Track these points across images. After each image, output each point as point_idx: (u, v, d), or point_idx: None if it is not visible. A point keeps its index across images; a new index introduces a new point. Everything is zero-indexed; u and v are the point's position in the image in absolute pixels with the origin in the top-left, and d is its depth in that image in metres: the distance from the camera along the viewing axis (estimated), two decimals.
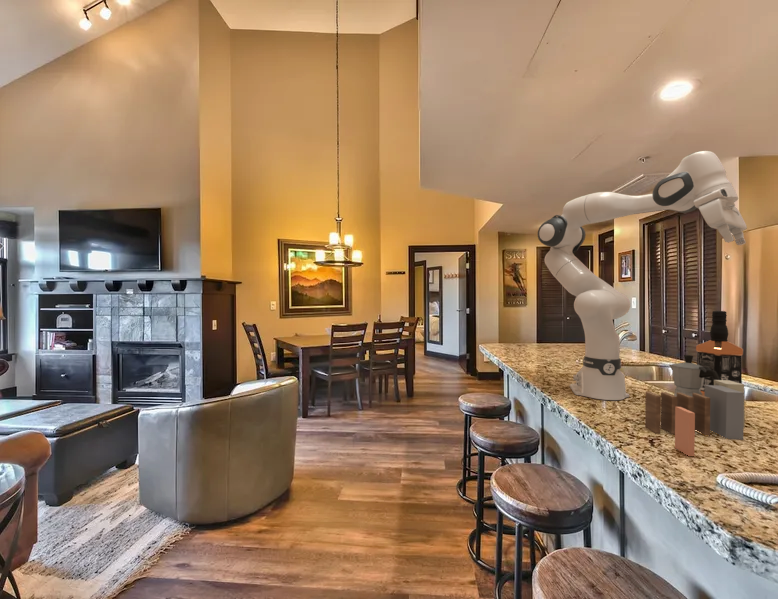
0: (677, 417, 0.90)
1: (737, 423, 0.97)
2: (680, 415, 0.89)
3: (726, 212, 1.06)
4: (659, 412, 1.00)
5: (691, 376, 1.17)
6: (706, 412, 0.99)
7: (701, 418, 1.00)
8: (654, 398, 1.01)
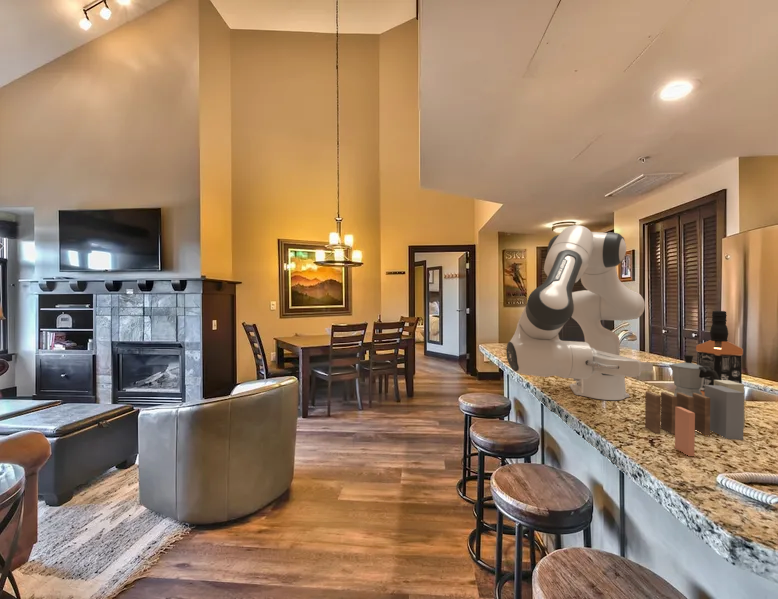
0: (677, 417, 0.90)
1: (737, 423, 0.97)
2: (680, 415, 0.89)
3: None
4: (659, 412, 1.00)
5: (691, 376, 1.17)
6: (706, 412, 0.99)
7: (701, 418, 1.00)
8: (654, 398, 1.01)
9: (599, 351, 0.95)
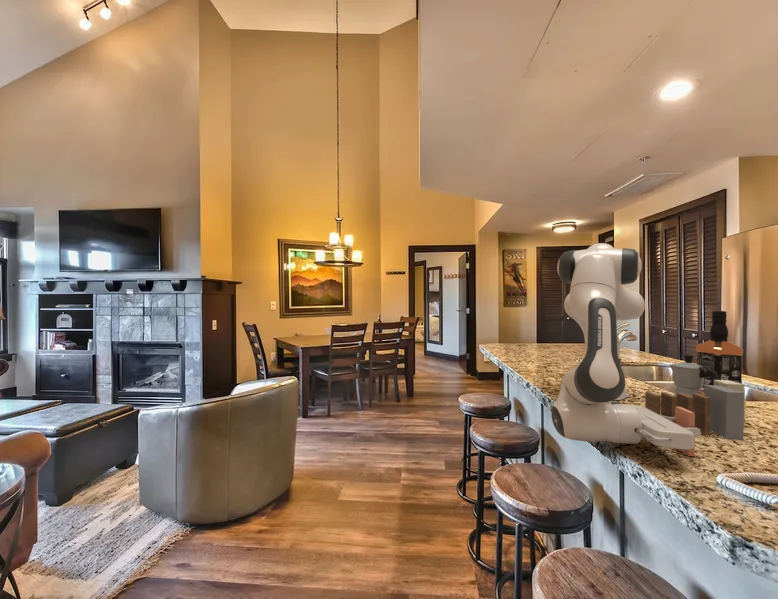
0: (677, 417, 0.90)
1: (737, 423, 0.97)
2: (680, 415, 0.89)
3: None
4: (659, 412, 1.00)
5: (691, 376, 1.17)
6: (706, 412, 0.99)
7: (701, 418, 1.00)
8: (654, 398, 1.01)
9: (645, 410, 0.95)
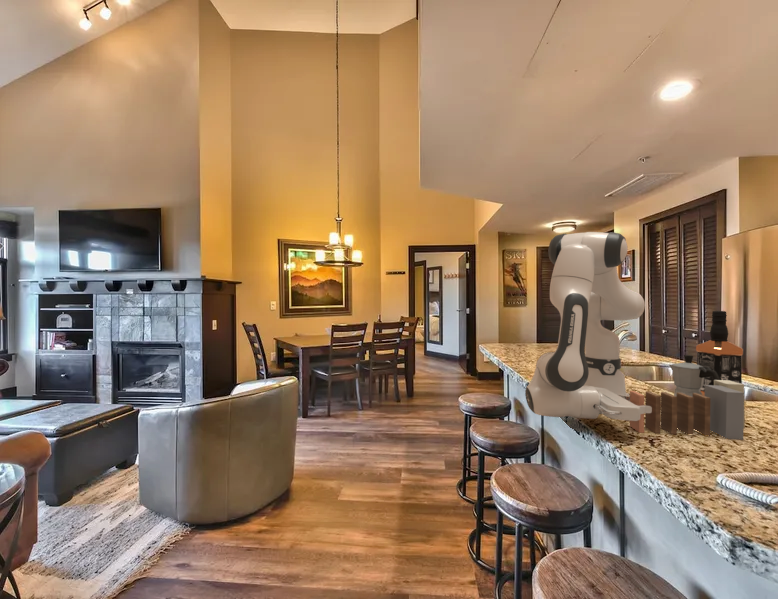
0: (631, 399, 1.05)
1: (737, 423, 0.97)
2: (633, 398, 1.04)
3: None
4: (659, 412, 1.00)
5: (691, 376, 1.17)
6: (706, 412, 0.99)
7: (701, 418, 1.00)
8: (654, 398, 1.01)
9: (606, 391, 1.10)
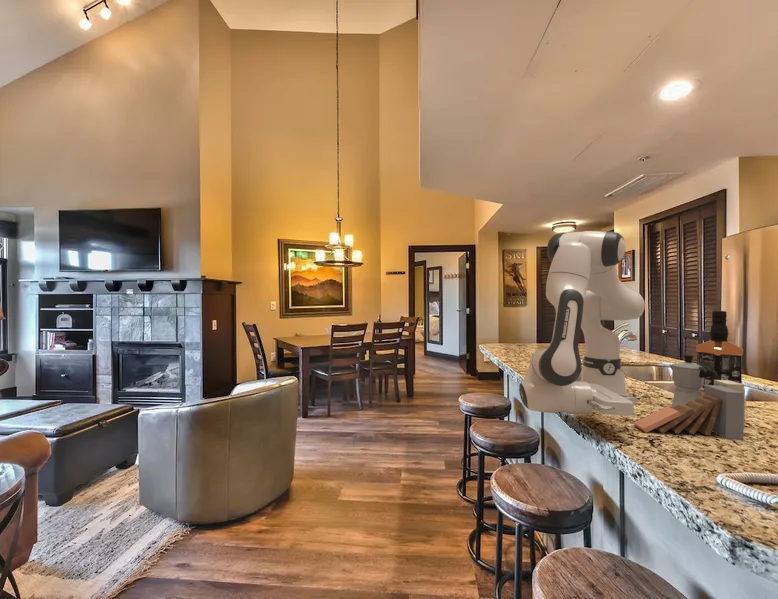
0: (661, 410, 1.04)
1: (737, 423, 0.97)
2: (666, 410, 1.03)
3: None
4: (680, 420, 1.00)
5: (691, 376, 1.17)
6: (713, 412, 0.99)
7: (706, 418, 1.00)
8: (687, 409, 1.00)
9: (600, 387, 1.10)
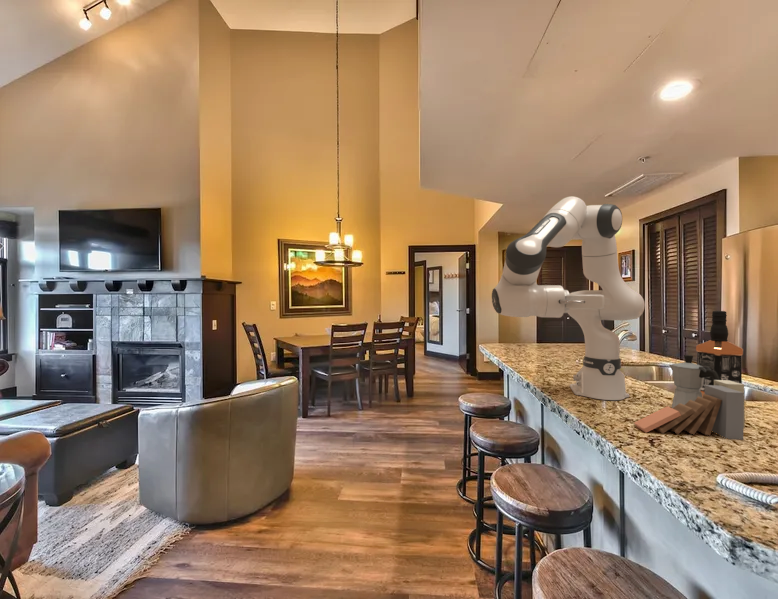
0: (661, 410, 1.04)
1: (737, 423, 0.97)
2: (666, 410, 1.03)
3: None
4: (680, 420, 1.00)
5: (691, 376, 1.17)
6: (713, 412, 0.99)
7: (706, 418, 1.00)
8: (687, 409, 1.00)
9: None
